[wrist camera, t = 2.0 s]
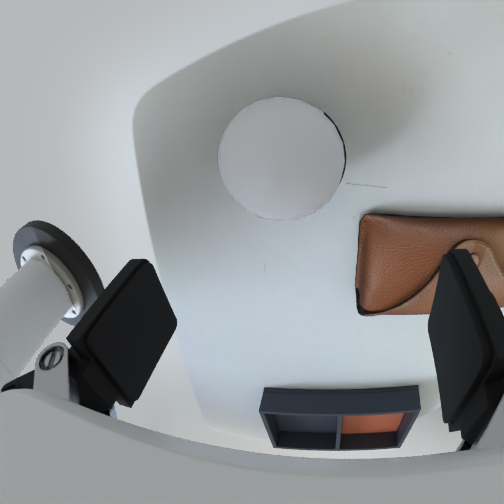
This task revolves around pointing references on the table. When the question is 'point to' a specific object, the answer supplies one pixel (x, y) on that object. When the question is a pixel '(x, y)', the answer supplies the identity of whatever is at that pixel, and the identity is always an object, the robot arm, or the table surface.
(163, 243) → the table surface
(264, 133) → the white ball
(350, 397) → the tray
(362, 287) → the sunglasses case
